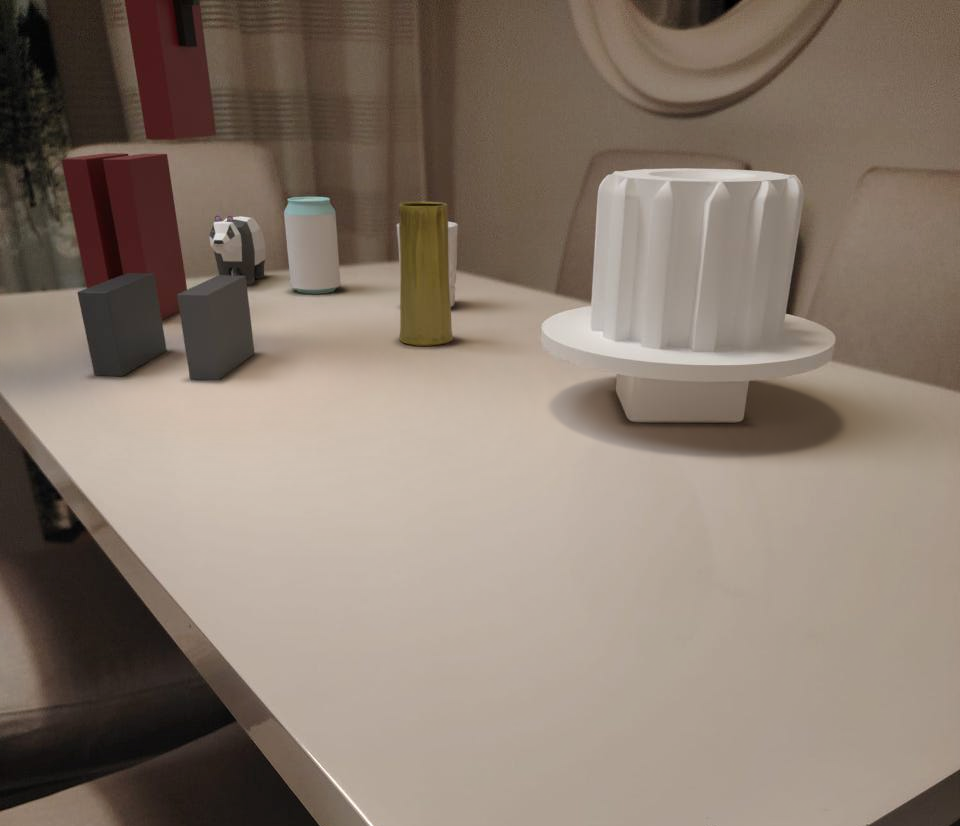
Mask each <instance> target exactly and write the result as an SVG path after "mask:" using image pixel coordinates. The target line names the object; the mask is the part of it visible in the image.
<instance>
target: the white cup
mask: <svg viewBox="0 0 960 826" xmlns="http://www.w3.org/2000/svg"><path fill="white" fill-rule="evenodd" d="M458 236H459V224H458V223H457V222H453V221H448V260H449V291H450V306H451V308H453V306H455V304H456V287H455V286H456V283H457V267H458V239H459V238H458ZM396 237H397V247H398V248H397V249H398V259H399V260H398V261H399V264H400V235H399V223H396Z"/></svg>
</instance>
